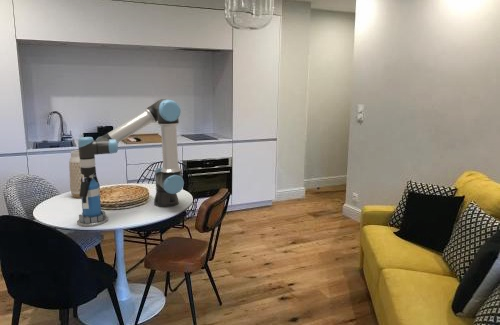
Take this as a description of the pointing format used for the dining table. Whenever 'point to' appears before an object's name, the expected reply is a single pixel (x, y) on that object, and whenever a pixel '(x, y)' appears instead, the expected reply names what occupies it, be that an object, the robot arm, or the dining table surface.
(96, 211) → the water bottle
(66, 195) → the dining table surface
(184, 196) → the dining table surface
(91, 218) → the grey gear
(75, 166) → the vase
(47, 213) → the dining table surface
